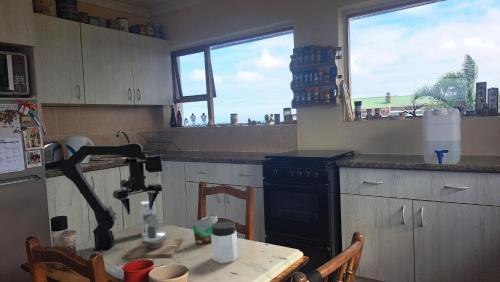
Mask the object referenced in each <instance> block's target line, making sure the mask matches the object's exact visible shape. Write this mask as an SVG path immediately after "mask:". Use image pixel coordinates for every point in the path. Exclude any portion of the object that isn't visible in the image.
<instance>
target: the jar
mask: <svg viewBox="0 0 500 282" xmlns="http://www.w3.org/2000/svg"><path fill="white" fill-rule="evenodd" d="M237 235H238V234H237V230H236V224H235V223H234V222H231V221H220V222H216V224H213V225H212V234H211V242H212V243H211V254H212V255H211V256H212V261H214V262H216V263H219V264H228V263H233V262H235V261H236V259H238V257H239V253H238V252H239V251H238V237H237Z"/></svg>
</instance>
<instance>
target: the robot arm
mask: <svg viewBox="0 0 500 282" xmlns="http://www.w3.org/2000/svg"><path fill="white" fill-rule="evenodd" d="M115 155H116V156H122V157H126V159H125V160H124V161H123V162H122V163H123V165H124V164H125V165H126V164H128V173H129V176H128V177H127V179H128V180H126V179H122V180H120V184H119V185H120V189H116V190H114V191H113V192H112V197H113V198H114V199H117V200H118V201H121V203H122V205H123V207H124V208H125V210H126V213H127V215H131V208H130V207H131V204H130V198H128V196H129V195H135V194H140V193H146V192H147V195H148V200H149V209H150V210H151V209H152V206H153V204H154V202H155V200H156V198H157V196H158V195H159V194H160V193H161V192H163V186H162V185H161V184H160V183H150V184H148V185H146V181H145V179H147V176H146V175H145V171H147V172H148V174H150V173H163V172H164V171H163V170H164V167H163V161H162V155H160V154H157V155H150V156H149V155H148V154H147V153H146V152H145V151H144V148H143V145H141V143H140V142H131V143H125V144H120V145H115V144H114V145H107V144H106V145H104V144H103V145H102V144H101V145H89V144H84V145H81V146H80V148H79V149H77V151H75V152H74V153H73V154H72V155H71V156H70V157H68V158H66V159H63V160H62V161H61V162H60V163H59V165H58V169H59V171H60V172H61V174H63V175H64V176H65V177H66V178H67V179H68V180H70V181H71V182H73V184H74V185H75V187H76V188H77V190H78V191H79V192H80V194H81V195H82V196H83V198H84V199H85V201H86V203H87V204H88V205H89V207H90V208H91V210H92V211H93V213H94V218H95V221H96V223H97V225H96V226H95V228H94V229H93V231H92V233H93V238H94V239H93V241H94V248H93V249H92V251H108V250H110V249H112V248H113V247H114V246H115V245H116V242H115V235H114V233H113V230H111V229H112V228H113V227H114V225H115V224H116V221H117V216H116V215H117V213H116V212H115V211H114V210H113V208H112V206H110V205H109V207H107V206H105V205H104V203H103V202H102V200H101V199H100V197H99V196H98V195H97V193H96V192H95V190H94V189H93V187H92V186H91V184H90V183H89V181H88V180H87V178H86V177H85V176H84V175H85V174H84V172H83V168H82V166H81V163H82V162H83V161H84V160H85V159H86V158H87V157H88V156H115ZM138 159H139V160H138Z"/></svg>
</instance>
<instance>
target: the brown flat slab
mask: <svg viewBox="0 0 500 282" xmlns="http://www.w3.org/2000/svg"><path fill="white" fill-rule="evenodd" d="M183 239H184V238H172V239H171V238H170V239H169V238H168V239H167V238H166V240H165V241H164V242H162V243H159V244H154V245H145V244H143V243H142V239H140V240H138V241H137V242H136V243H135V244H134V245H133V246H131V247H130V248H129V249H128V250H127V251H126V252H125V253H124V254H123V255H122V256H123V259H143V258H144V259H146V258H148V259H149V258H153V259H154V258H173V256H174V255H175V254H176V252H177V250H179V248H180V247H181V245H182V244H183V243H184V240H183Z"/></svg>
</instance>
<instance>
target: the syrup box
mask: <svg viewBox="0 0 500 282" xmlns="http://www.w3.org/2000/svg"><path fill="white" fill-rule="evenodd" d="M139 205H140V206H139V207H140V221H141V234H142V233H144V232H146V231H148V225H149V223H150V221H151V220H153V219H157V210H156V209H157V208H156V202H155V201H154V204H153V206H152V209H151V210H150V209H149V199H148V200H143V201H142V200H141V201H140V202H139Z"/></svg>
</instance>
